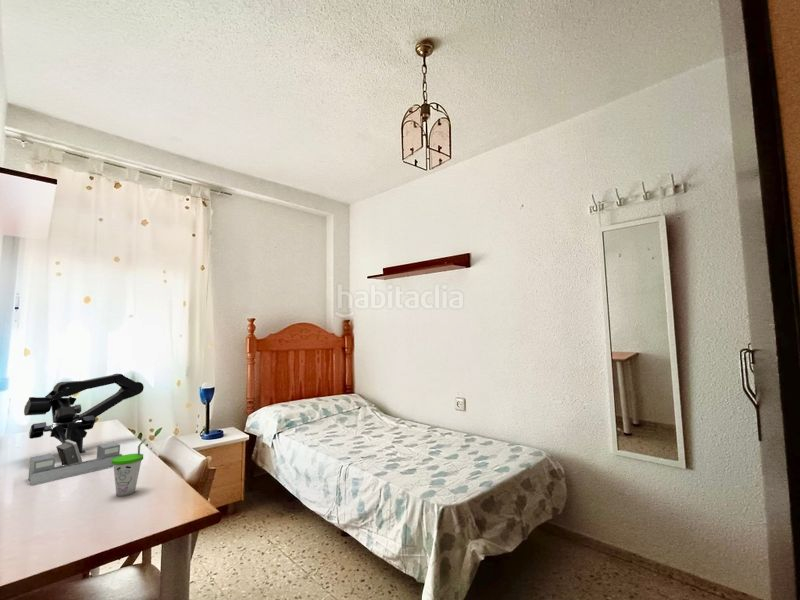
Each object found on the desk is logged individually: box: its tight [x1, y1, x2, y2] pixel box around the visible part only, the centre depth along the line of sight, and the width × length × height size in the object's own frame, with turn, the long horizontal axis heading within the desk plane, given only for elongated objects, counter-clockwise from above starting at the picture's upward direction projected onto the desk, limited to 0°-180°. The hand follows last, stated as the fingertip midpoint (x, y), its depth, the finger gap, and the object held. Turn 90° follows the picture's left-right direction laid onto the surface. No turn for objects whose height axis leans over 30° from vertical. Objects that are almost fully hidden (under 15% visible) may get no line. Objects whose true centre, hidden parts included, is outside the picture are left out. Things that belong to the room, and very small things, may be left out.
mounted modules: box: [27, 441, 121, 482], centre depth 130 cm, size 7×23×7 cm, turn 142°
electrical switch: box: [55, 440, 83, 466], centre depth 136 cm, size 9×5×9 cm, turn 57°
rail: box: [29, 453, 123, 486], centre depth 128 cm, size 2×24×4 cm, turn 142°
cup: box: [112, 438, 147, 497], centre depth 111 cm, size 8×8×15 cm
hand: (66, 444), depth 141 cm, fingers closed
